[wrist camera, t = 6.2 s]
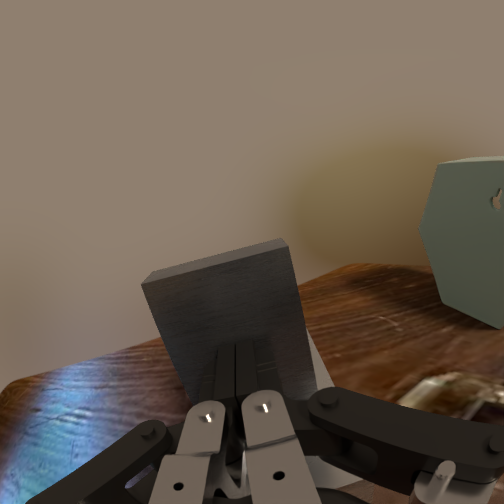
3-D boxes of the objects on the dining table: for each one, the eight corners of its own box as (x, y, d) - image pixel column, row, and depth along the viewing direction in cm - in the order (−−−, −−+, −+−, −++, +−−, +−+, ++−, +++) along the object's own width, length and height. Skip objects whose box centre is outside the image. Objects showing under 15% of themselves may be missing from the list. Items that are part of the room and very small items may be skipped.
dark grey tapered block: (323, 424, 13) (288, 245, 11) (216, 446, 13) (140, 284, 11) (290, 333, 24) (262, 217, 22) (222, 350, 24) (185, 238, 22)
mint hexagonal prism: (506, 326, 26) (588, 205, 11) (476, 353, 25) (577, 222, 10) (440, 243, 38) (481, 119, 23) (406, 258, 37) (447, 118, 22)
